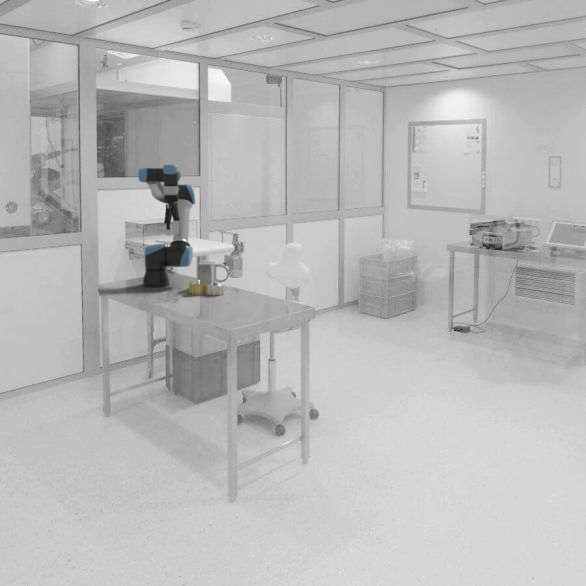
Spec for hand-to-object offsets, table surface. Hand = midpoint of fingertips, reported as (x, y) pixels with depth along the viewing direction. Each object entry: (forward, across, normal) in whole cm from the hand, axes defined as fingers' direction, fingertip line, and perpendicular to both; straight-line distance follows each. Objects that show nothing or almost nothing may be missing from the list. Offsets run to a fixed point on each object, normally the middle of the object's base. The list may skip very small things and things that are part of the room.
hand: (172, 234), depth 353 cm
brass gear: (+31, -7, -15) cm, 35 cm away
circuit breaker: (+32, +12, -16) cm, 38 cm away
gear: (+30, -8, -24) cm, 40 cm away
